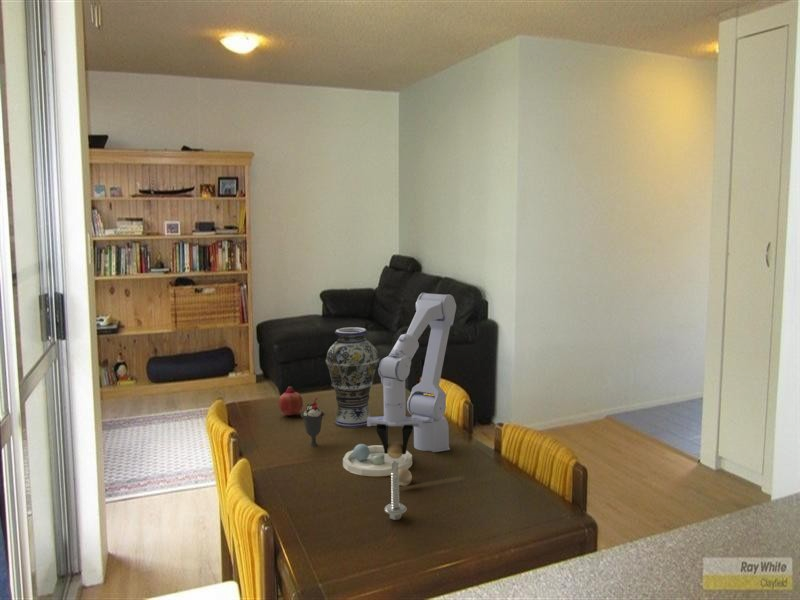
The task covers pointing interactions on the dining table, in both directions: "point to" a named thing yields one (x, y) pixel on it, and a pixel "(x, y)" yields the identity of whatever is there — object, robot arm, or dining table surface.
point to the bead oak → (395, 450)
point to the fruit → (290, 402)
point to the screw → (395, 495)
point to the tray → (375, 468)
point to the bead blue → (361, 452)
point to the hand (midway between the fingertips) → (395, 452)
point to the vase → (352, 375)
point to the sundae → (313, 421)
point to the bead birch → (404, 477)
